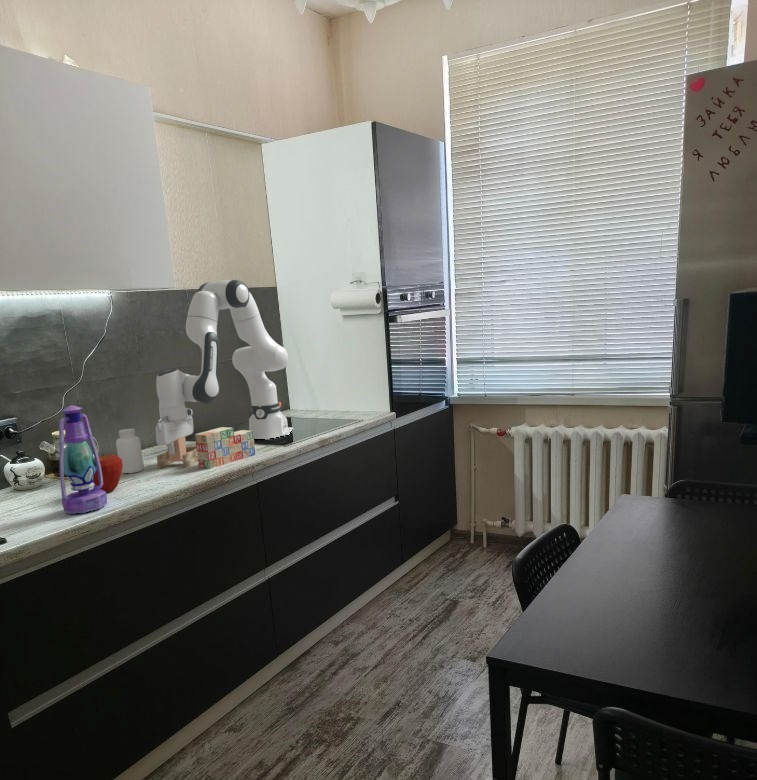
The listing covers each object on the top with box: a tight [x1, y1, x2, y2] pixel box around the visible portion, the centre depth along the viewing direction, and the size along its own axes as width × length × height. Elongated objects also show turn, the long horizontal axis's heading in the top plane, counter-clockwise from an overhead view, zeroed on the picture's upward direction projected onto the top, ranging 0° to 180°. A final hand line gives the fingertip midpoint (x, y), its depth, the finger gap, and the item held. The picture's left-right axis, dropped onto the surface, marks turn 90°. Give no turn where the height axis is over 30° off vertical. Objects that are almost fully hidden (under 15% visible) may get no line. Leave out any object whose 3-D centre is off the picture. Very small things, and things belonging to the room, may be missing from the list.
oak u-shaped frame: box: [156, 445, 198, 469], centre depth 223 cm, size 14×11×4 cm
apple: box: [93, 453, 123, 493], centre depth 191 cm, size 11×11×12 cm
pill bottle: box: [115, 428, 145, 474], centre depth 215 cm, size 8×8×15 cm
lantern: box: [58, 405, 108, 515], centre depth 172 cm, size 13×12×30 cm
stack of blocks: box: [194, 426, 256, 470], centre depth 220 cm, size 21×6×12 cm, turn 145°
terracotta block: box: [167, 436, 187, 462], centre depth 220 cm, size 4×4×8 cm
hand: (177, 451), depth 220 cm, fingers closed on terracotta block, 4 cm apart
